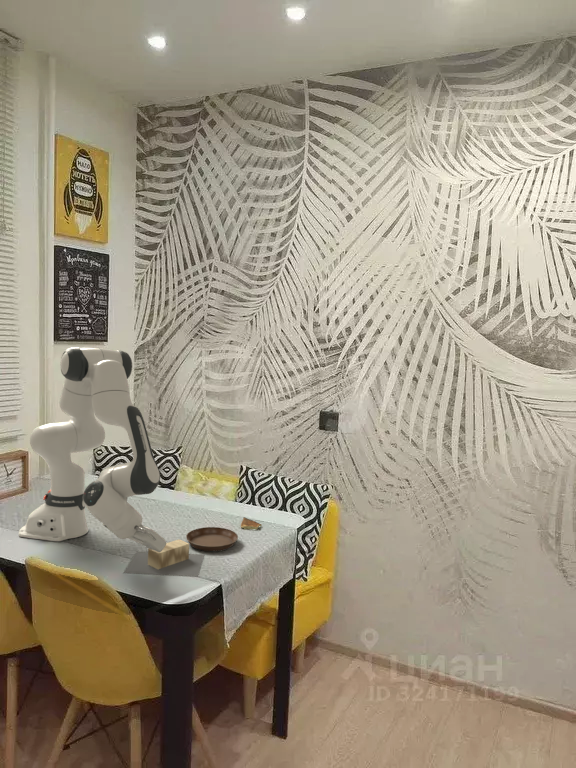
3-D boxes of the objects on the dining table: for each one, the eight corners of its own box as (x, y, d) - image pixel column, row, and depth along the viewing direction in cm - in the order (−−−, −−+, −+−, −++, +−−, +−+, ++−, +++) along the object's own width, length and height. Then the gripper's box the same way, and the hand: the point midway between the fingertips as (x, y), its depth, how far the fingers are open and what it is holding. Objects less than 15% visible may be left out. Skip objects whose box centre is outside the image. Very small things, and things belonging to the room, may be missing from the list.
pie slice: (243, 520, 234) (243, 516, 234) (263, 522, 233) (263, 517, 233) (239, 530, 223) (240, 525, 223) (260, 531, 223) (260, 527, 222)
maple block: (158, 553, 180) (189, 543, 189) (148, 548, 183) (179, 539, 193) (158, 569, 181) (188, 558, 190) (147, 564, 184) (178, 554, 193)
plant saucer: (215, 558, 195) (215, 549, 194) (174, 545, 204) (175, 536, 204) (247, 543, 209) (248, 535, 209) (208, 531, 219) (209, 523, 219)
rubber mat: (122, 576, 177) (122, 573, 177) (136, 554, 194) (136, 551, 194) (197, 579, 177) (197, 576, 177) (204, 557, 194) (204, 554, 194)
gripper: (155, 522, 168) (180, 547, 176) (112, 505, 181) (138, 529, 189) (141, 542, 165) (168, 566, 173) (99, 522, 178) (126, 546, 186)
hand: (152, 547), depth 181 cm, fingers closed
